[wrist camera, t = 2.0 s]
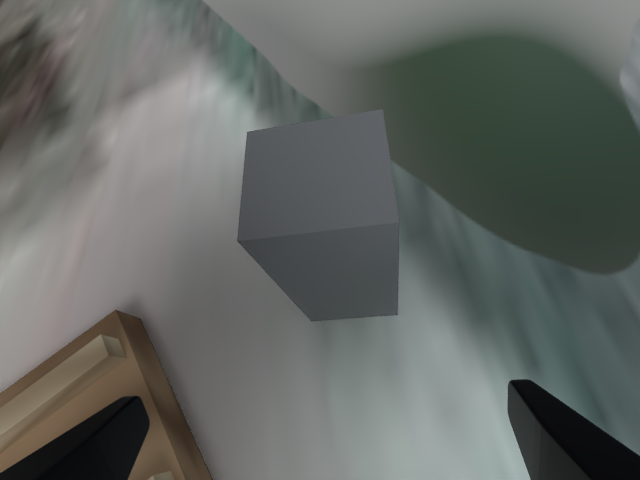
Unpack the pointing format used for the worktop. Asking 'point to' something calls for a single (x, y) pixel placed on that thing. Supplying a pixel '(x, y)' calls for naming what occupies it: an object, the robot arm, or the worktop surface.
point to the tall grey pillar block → (324, 214)
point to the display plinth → (101, 400)
